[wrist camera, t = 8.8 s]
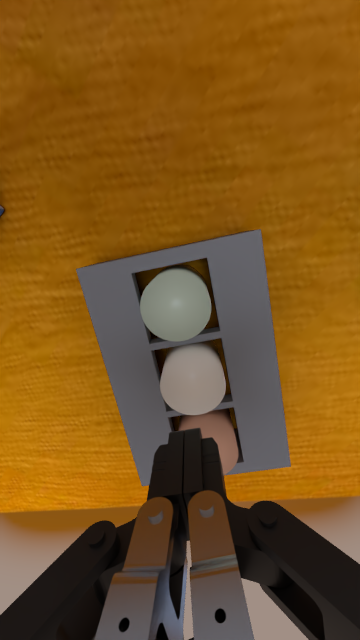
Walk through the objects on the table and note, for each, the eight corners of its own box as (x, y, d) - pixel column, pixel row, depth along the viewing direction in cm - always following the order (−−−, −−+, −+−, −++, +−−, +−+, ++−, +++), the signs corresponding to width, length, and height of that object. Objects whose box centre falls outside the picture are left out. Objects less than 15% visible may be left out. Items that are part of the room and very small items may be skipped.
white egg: (172, 384, 24) (167, 419, 20) (161, 337, 23) (153, 362, 19) (223, 376, 24) (230, 409, 19) (214, 327, 23) (219, 350, 18)
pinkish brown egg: (185, 437, 26) (183, 482, 21) (175, 395, 25) (171, 432, 20) (233, 430, 25) (242, 474, 21) (225, 387, 24) (233, 423, 20)
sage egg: (158, 324, 23) (149, 347, 18) (145, 270, 22) (132, 280, 17) (211, 314, 23) (217, 334, 18) (201, 259, 21) (204, 265, 17)
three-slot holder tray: (276, 432, 26) (290, 466, 22) (149, 451, 27) (142, 486, 23) (248, 230, 21) (260, 229, 17) (96, 263, 22) (75, 269, 19)
